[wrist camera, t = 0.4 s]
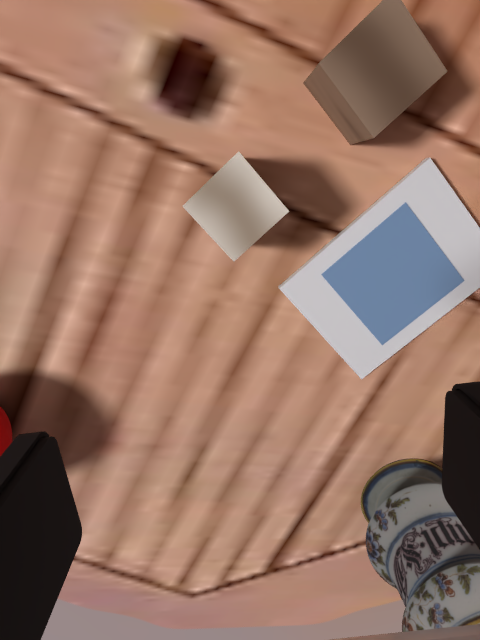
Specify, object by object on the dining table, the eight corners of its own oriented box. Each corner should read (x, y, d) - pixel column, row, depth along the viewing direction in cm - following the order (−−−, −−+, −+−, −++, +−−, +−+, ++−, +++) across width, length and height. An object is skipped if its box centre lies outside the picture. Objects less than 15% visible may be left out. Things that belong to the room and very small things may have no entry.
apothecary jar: (450, 540, 48) (573, 741, 31) (344, 540, 47) (410, 744, 30) (472, 449, 44) (626, 620, 27) (357, 448, 44) (440, 621, 27)
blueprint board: (425, 158, 35) (430, 157, 34) (501, 264, 38) (507, 266, 37) (278, 286, 38) (279, 288, 37) (359, 375, 41) (361, 379, 40)
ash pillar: (236, 157, 35) (238, 151, 27) (276, 204, 36) (289, 211, 28) (192, 200, 36) (182, 206, 28) (232, 244, 37) (233, 261, 29)
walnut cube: (364, 23, 32) (394, -11, 26) (410, 89, 33) (447, 71, 28) (303, 83, 33) (318, 63, 27) (349, 144, 35) (373, 138, 29)
